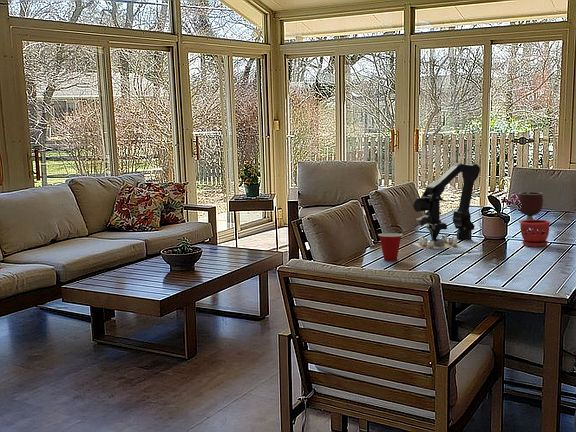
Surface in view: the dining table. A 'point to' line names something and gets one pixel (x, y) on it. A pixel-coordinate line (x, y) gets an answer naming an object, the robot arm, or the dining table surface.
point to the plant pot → (534, 232)
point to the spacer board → (436, 246)
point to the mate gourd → (530, 203)
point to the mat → (452, 253)
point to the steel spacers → (433, 241)
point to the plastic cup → (390, 245)
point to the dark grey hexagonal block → (439, 242)
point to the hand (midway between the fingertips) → (433, 241)
